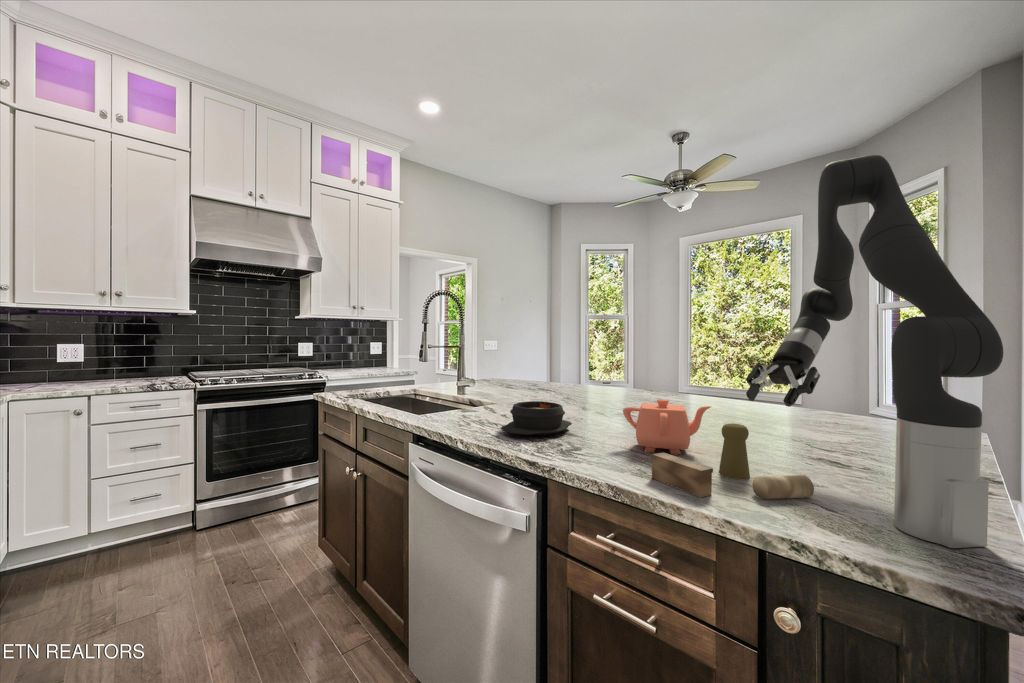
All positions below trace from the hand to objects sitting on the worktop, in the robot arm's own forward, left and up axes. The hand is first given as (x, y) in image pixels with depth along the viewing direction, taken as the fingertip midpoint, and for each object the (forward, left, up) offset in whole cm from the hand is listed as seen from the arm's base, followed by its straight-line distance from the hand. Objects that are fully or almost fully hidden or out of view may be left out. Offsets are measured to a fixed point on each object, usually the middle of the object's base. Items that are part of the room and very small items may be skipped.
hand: (767, 401), depth 98 cm
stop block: (-9, +26, -15) cm, 32 cm away
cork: (-4, +10, -15) cm, 19 cm away
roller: (-17, +9, -15) cm, 25 cm away
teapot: (+17, +15, -16) cm, 28 cm away
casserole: (+40, +45, -16) cm, 63 cm away
